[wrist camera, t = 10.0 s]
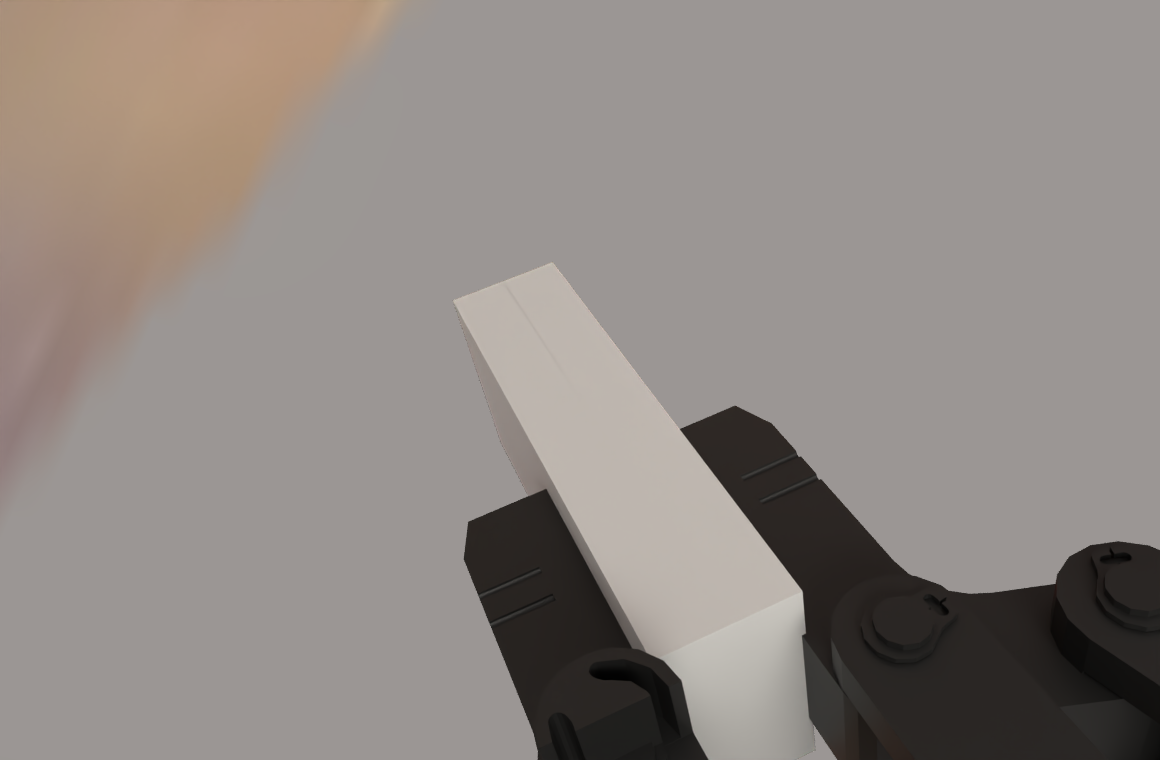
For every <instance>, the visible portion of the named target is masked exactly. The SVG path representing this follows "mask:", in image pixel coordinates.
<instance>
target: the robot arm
mask: <svg viewBox="0 0 1160 760" xmlns="http://www.w3.org/2000/svg"><path fill="white" fill-rule="evenodd" d="M453 303H454V306H455V309H456V312H457V314H458V318H459V321H460V323H461V326H462V329H463V332H464V335H465V338H466V341H467V344H468V347H469V350H470V353H471V356H472V359H473V362H474V365H475V368H476V371H477V373H478V377H479V379H480V383H481V386H482V388H483V392H484V394H485V397H486V400H487V403H488V406H489V409H490V412H491V415H492V418H493V420H494V424H495V427H496V430H497V433H498V436H499V439H500V442H501V444H502V446H503V448H504V450H505V452H506V454H507V456H508V458H509V460H510V461H511V464H512V466H513V467H514V469H515V471H516V473H517V475H518V477H519V479H520V481H521V483H522V485H523V487H524V489H525V491H526V493H527V495H528V497H526V498H523V499H521V500H518V501H516V502H514V503H511V504H509V505H507V506H504V507H502V508H500V509H498V510H495V511H493V512H490V513H488V514H486V515H483V516H481V517H479V518H476V519H474V520H472V521H469V522H468V529H467V537H466V545H465V553H464V561H465V563H466V566H467V568H468V571H469V573H470V576H471V578H472V581H473V583H474V586H475V588H476V591H477V593H478V596H479V598H480V601H481V603H482V605H483V608H484V611H485V613H486V616H487V618H488V621H489V623H490V626H491V628H492V630H493V633H494V635H495V638H496V641H497V643H498V646H499V648H500V650H501V653H502V656H503V658H504V660H505V663H506V665H507V668H508V670H509V673H510V675H511V678H512V680H513V683H514V685H515V688H516V690H517V693H518V695H519V698H520V700H521V703H522V705H523V708H524V710H525V713H526V715H527V718H528V720H529V723H530V725H531V728H532V730H533V733H534V737H535V741H536V745H537V749H538V760H797V759H799V758H801V757H803V756H805V755H807V754H809V753H811V752H813V751H815V738H814V726H815V727H816V729H817V730H818V732H819V733H820V735H821V736H822V737H823V739H824V740H825V742H826V744H827V745H828V746H829V748H830V749H831V751H832V752H833V754H834V755H835V757H836V758H837V760H1160V550H1158V549H1156V548H1153V547H1151V546H1148V545H1140V544H1133V543H1126V542H1119V541H1118V542H1110V543H1104V544H1096V545H1090V546H1088V547H1086V548H1085V549H1083V550H1081V551H1079V552H1077V553H1075V554H1073V555H1072V556H1070V557H1069V558H1068V559H1067V561H1066V562H1065V564H1064V566H1063V567H1062V568H1061V570H1060V571H1059V573H1058V574H1057V579H1056V584H1052V585H1045V586H1038V587H1030V588H1024V589H1016V590H1009V591H1002V592H995V593H978V594H967V593H959V592H952V591H948V590H946V589H945V588H944V587H943V586H941V585H939V584H936V583H933V582H930V581H927V580H925V579H922V578H919V577H916V576H912V575H910V574H908V573H907V572H906V571H905V570H904V569H902V568H901V567H900V566H899V565H898V564H897V563H896V562H894V561H893V560H892V559H891V557H890V556H889V555H888V554H887V553H886V552H885V551H884V549H883V548H882V547H881V546H880V545H879V544H878V543H877V542H876V540H875V539H874V538H873V537H872V536H871V535H870V534H869V533H868V531H867V530H866V529H865V528H864V527H863V526H862V525H861V524H860V522H859V521H858V520H857V519H856V518H855V517H854V516H853V515H852V514H851V512H850V511H849V510H848V509H847V508H846V507H845V506H844V505H843V503H842V502H841V501H840V500H839V499H838V498H837V497H836V495H835V494H834V493H833V492H832V491H831V490H830V489H829V488H828V486H827V485H826V484H825V483H824V482H823V481H822V480H821V479H820V480H819V479H818V478H817V476H816V473H815V472H814V471H813V470H812V468H811V467H810V466H809V465H808V464H807V463H806V462H805V461H804V459H803V458H802V457H798V455H797V453H796V450H795V449H794V448H793V447H792V446H791V445H790V444H789V443H788V441H787V440H786V439H785V438H784V437H783V436H782V435H781V434H780V433H779V431H778V430H777V429H776V428H775V427H774V426H773V425H772V424H771V423H770V422H768V421H765V420H763V419H761V418H759V417H757V416H755V415H753V414H751V413H749V412H747V411H745V410H743V409H741V408H739V407H737V406H733V407H731V408H729V409H726V410H724V411H721V412H719V413H717V414H715V415H712V416H710V417H707V418H705V419H703V420H701V421H698V422H696V423H693V424H691V425H689V426H686V427H684V428H681V429H679V428H678V426H677V425H676V424H675V423H674V421H673V420H672V419H671V417H670V416H669V415H668V413H667V412H666V411H665V409H664V408H663V407H662V405H661V404H660V403H659V401H657V399H656V398H655V396H654V395H653V394H652V392H651V391H650V390H649V388H648V387H647V386H646V384H645V383H644V382H643V380H642V379H641V378H640V376H639V375H638V374H637V373H636V371H635V370H634V369H633V367H632V366H631V365H630V363H629V362H628V361H627V359H626V358H625V357H624V355H623V354H622V353H621V351H620V350H619V349H618V347H617V346H616V345H615V344H614V342H613V341H612V340H611V338H610V337H609V336H608V334H607V333H606V332H605V330H604V329H603V328H602V327H601V325H600V324H599V323H598V321H597V320H596V318H595V317H594V316H593V315H592V313H591V312H590V311H589V309H588V308H587V307H586V305H585V304H584V303H583V301H582V300H581V299H580V297H579V296H578V295H577V293H576V292H575V291H574V290H573V288H572V287H571V286H570V284H569V283H568V282H567V280H566V279H565V278H564V276H563V275H562V274H561V272H560V271H559V270H558V268H557V267H556V266H555V264H554V263H553V262H552V263H549V264H546V265H544V266H541V267H538V268H536V269H533V270H531V271H528V272H525V273H523V274H520V275H518V276H515V277H513V278H510V279H508V280H505V281H502V282H499V283H497V284H494V285H492V286H489V287H486V288H484V289H481V290H479V291H476V292H473V293H471V294H468V295H466V296H463V297H460V298H458V299H455V300H453ZM813 724H814V726H813Z"/></svg>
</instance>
